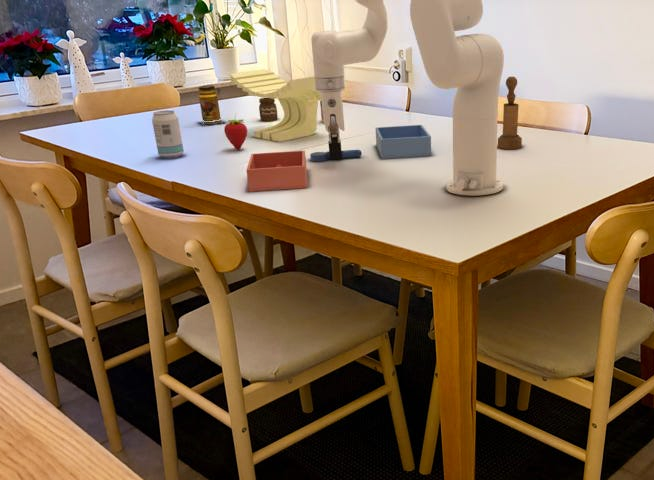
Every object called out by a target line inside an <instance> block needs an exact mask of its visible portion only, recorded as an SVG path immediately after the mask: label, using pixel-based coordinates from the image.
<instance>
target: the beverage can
mask: <svg viewBox="0 0 654 480" xmlns="http://www.w3.org/2000/svg"><path fill="white" fill-rule="evenodd" d="M152 114H153V115H152V118H151V123H152V127H153V133H154V139H155V143H156V149H157V155H158V156H160V157H162V158H163V159H164V160H165V159H166V160H168V159H169V160H170V159H178V158H180V157H181V156H182V155H183V154H184V153H185V150H184V144H183V139H182V134H181V129H180V121H179V117H178V115H177V114H176V112H175V110H159V111H154V112H152Z"/></svg>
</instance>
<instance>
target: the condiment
mask: <svg viewBox="0 0 654 480" xmlns="http://www.w3.org/2000/svg"><path fill="white" fill-rule="evenodd" d="M198 91H199V92H198V93H199V96H198V99H199V105H200V113H201V118H202V122H204V121H213V120H219V119H221V120H222V118H221V111H220V105H219V97H218V95H217V93H216V92H217V91H216V87H215V86H214V85H202V86H199V87H198ZM203 120H204V121H203ZM221 120H220V121H215V122H204V124H215V125H218V124H217V123H220V122H221Z"/></svg>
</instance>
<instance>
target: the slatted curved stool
mask: <svg viewBox="0 0 654 480" xmlns="http://www.w3.org/2000/svg"><path fill="white" fill-rule="evenodd" d="M229 77H230V84H231V85H236V88H238V89H242V92H243V93H244V92H245V93H247V95H248V96H251V97H258V98H259V97H261V98H272V99H274V100H277V101H279V104H280V106H281V107H282V110H283V115H284V116H283V119H282V120H281V121H280V122H278V123H276V124H275V125H272V126H268V127H266V128H261V129H257V130H254V134H253V137H254V138H258V139H263V140H267V141H274V142H278V143H279V142H285V141H289V140H295V139H299V138H304V137H308V136H312V135H314V134H315V133H316V131H317V126H318V109H319V102H320V101H321V92H317V91H316V88H315V76H314V75H313V76H309V77H302V78H296V79H290V80H289V81H288V82H287V81H286V80H285V79H282V78H281V76H279V75H276V74H275V72H274V71H271V70H269V69H266V68H263V69H256V70H248V71H240V72H234V73H230V74H229Z"/></svg>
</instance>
